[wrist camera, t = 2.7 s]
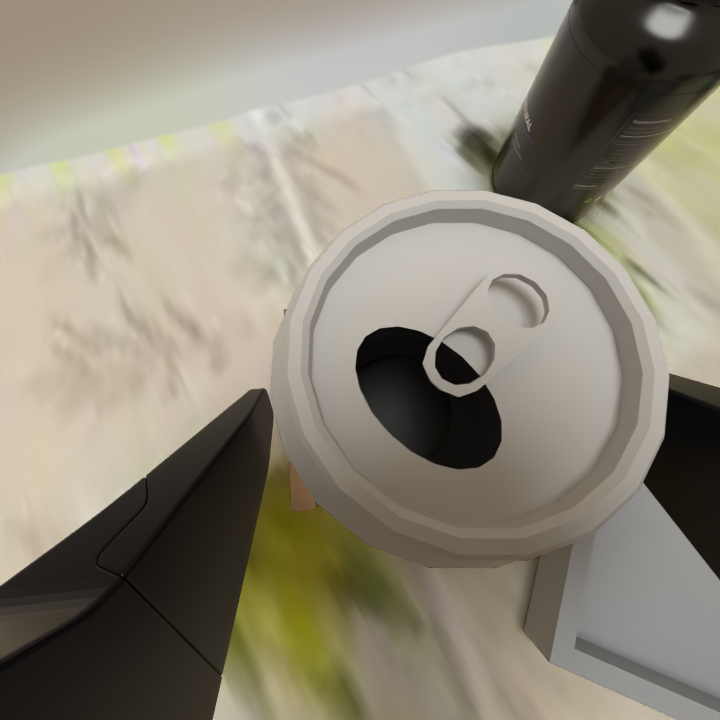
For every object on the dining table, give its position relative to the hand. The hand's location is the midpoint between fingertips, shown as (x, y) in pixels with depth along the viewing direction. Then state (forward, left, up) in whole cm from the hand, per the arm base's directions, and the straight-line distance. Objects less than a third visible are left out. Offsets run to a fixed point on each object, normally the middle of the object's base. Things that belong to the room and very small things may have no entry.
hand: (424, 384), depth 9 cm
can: (0, 0, -8) cm, 8 cm away
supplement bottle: (+17, -4, -8) cm, 19 cm away
